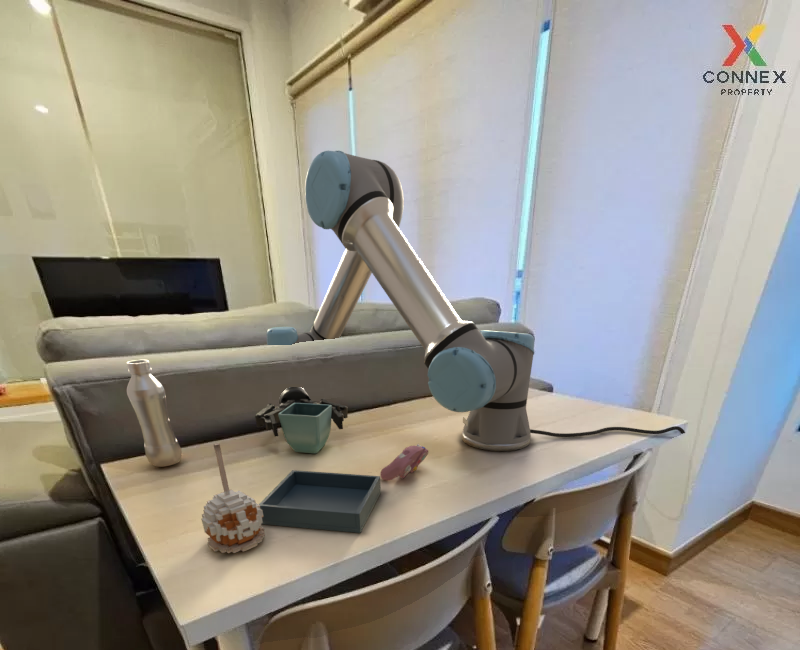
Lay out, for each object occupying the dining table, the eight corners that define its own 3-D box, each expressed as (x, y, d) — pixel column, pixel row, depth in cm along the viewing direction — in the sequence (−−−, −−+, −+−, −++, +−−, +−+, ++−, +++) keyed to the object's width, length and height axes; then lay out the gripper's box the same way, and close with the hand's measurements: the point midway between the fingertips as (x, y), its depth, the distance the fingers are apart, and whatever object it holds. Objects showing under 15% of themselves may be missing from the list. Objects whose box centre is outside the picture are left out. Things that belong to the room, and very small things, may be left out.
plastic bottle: (191, 460, 96) (165, 359, 86) (167, 472, 91) (137, 366, 80) (166, 456, 98) (138, 357, 88) (141, 468, 92) (108, 364, 82)
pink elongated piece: (395, 491, 86) (409, 463, 81) (376, 477, 87) (390, 448, 82) (421, 473, 93) (436, 447, 88) (404, 460, 94) (417, 433, 89)
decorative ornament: (225, 562, 63) (200, 459, 56) (200, 541, 68) (174, 444, 60) (274, 541, 68) (258, 444, 60) (248, 523, 73) (230, 430, 65)
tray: (380, 493, 82) (380, 476, 80) (360, 533, 70) (359, 513, 68) (294, 486, 84) (292, 469, 83) (260, 524, 72) (257, 505, 71)
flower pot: (322, 458, 97) (318, 415, 92) (282, 455, 98) (276, 413, 94) (335, 444, 104) (332, 404, 99) (298, 441, 106) (294, 402, 101)
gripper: (344, 411, 119) (367, 437, 102) (244, 421, 112) (250, 450, 95) (342, 381, 115) (365, 402, 98) (238, 390, 108) (243, 414, 91)
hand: (308, 426), depth 96 cm, fingers open, 13 cm apart
